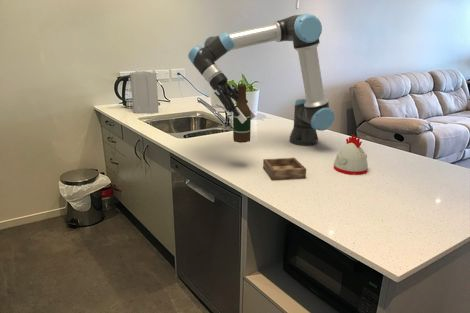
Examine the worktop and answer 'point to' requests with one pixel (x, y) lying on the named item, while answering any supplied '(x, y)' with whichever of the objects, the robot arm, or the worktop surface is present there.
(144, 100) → the paper bag
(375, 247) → the worktop surface
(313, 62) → the robot arm
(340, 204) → the worktop surface
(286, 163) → the square wooden tray
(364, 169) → the kitchen timer
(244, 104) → the beer bottle
